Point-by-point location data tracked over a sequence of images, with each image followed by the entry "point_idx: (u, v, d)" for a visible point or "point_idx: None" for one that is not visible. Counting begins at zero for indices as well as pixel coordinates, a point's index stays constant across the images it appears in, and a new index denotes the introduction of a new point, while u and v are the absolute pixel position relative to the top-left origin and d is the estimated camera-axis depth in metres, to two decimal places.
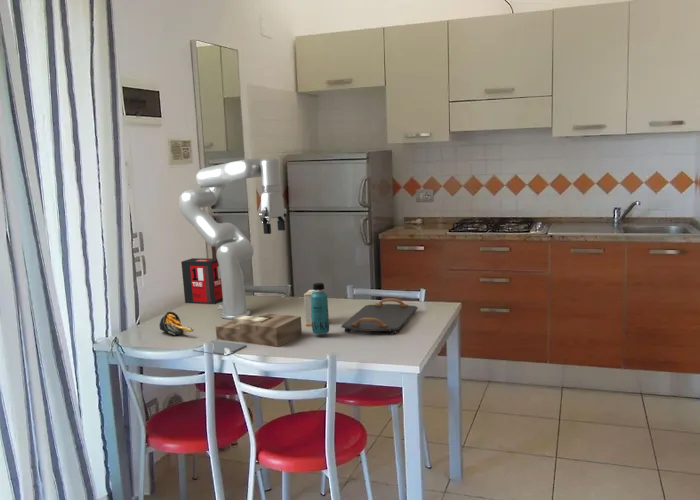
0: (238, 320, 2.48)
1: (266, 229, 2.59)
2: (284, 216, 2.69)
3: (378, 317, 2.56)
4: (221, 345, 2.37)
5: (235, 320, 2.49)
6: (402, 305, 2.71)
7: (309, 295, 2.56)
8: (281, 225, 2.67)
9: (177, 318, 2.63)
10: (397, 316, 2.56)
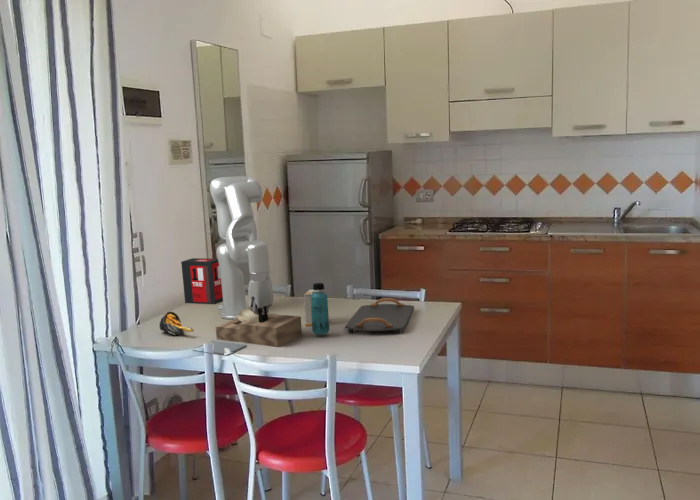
0: (243, 315, 2.46)
1: (261, 320, 2.44)
2: None
3: (379, 317, 2.56)
4: (221, 345, 2.37)
5: (240, 312, 2.47)
6: (398, 305, 2.72)
7: (309, 295, 2.56)
8: None
9: (177, 318, 2.63)
10: (398, 315, 2.57)
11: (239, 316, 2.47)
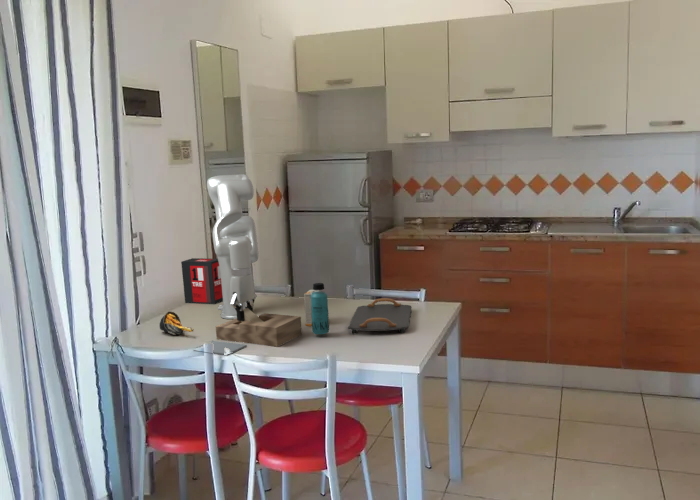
0: None
1: (239, 316, 2.46)
2: None
3: (380, 317, 2.56)
4: (221, 345, 2.37)
5: None
6: (396, 304, 2.73)
7: (309, 295, 2.56)
8: None
9: (177, 318, 2.63)
10: (398, 315, 2.58)
11: None
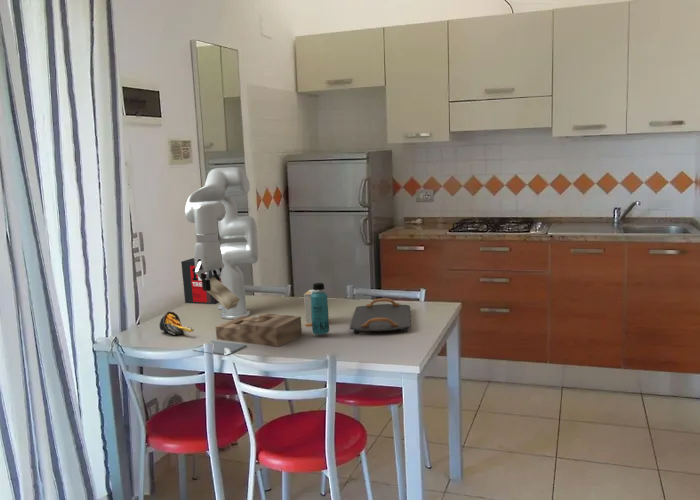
0: None
1: (205, 286, 2.30)
2: None
3: (380, 317, 2.56)
4: (221, 345, 2.37)
5: None
6: (394, 304, 2.73)
7: (309, 295, 2.56)
8: None
9: (177, 318, 2.63)
10: (398, 315, 2.58)
11: None
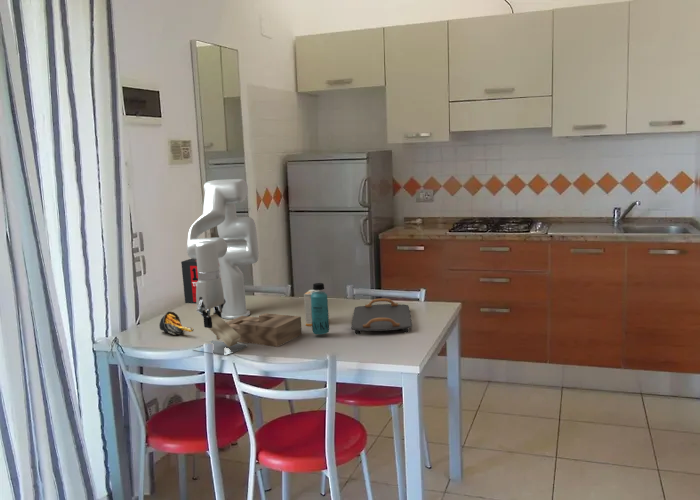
0: None
1: (206, 323, 2.31)
2: (221, 307, 2.37)
3: (380, 317, 2.56)
4: (221, 345, 2.37)
5: None
6: (393, 304, 2.73)
7: (309, 295, 2.56)
8: None
9: (177, 318, 2.63)
10: (398, 315, 2.58)
11: None
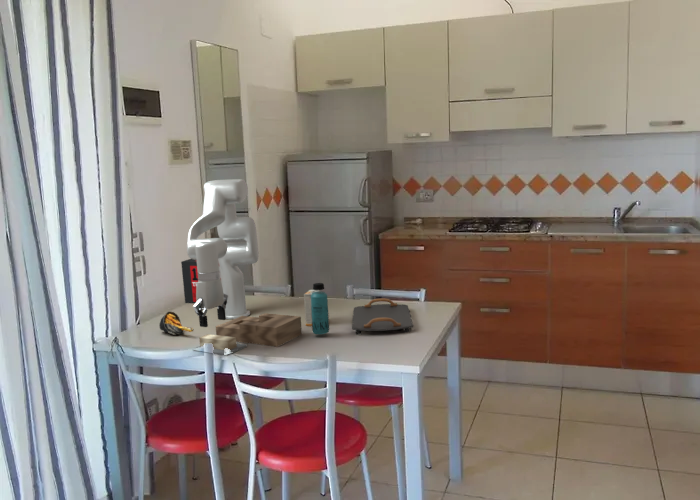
0: (203, 339, 2.35)
1: (202, 322, 2.29)
2: (225, 304, 2.39)
3: (381, 317, 2.56)
4: None
5: (200, 339, 2.36)
6: (392, 304, 2.73)
7: (309, 295, 2.56)
8: (221, 314, 2.38)
9: (177, 318, 2.63)
10: (398, 315, 2.58)
11: (201, 343, 2.36)
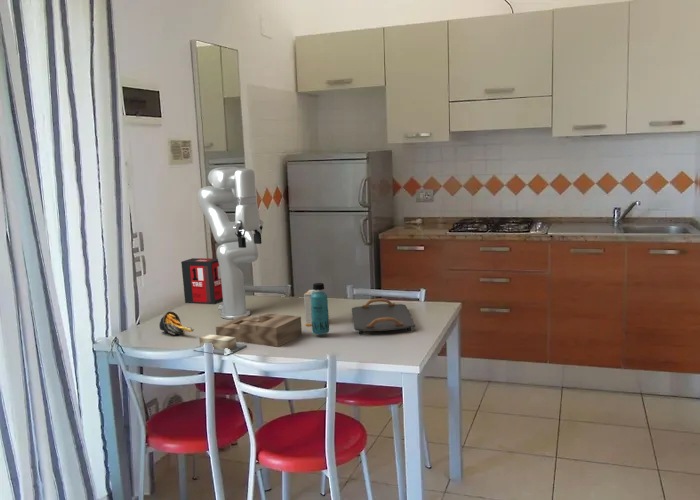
0: (203, 339, 2.35)
1: (241, 243, 2.48)
2: (260, 229, 2.58)
3: (381, 317, 2.56)
4: None
5: (200, 339, 2.36)
6: (390, 304, 2.73)
7: (309, 295, 2.56)
8: (257, 238, 2.57)
9: (177, 318, 2.63)
10: (399, 314, 2.59)
11: (201, 343, 2.36)
